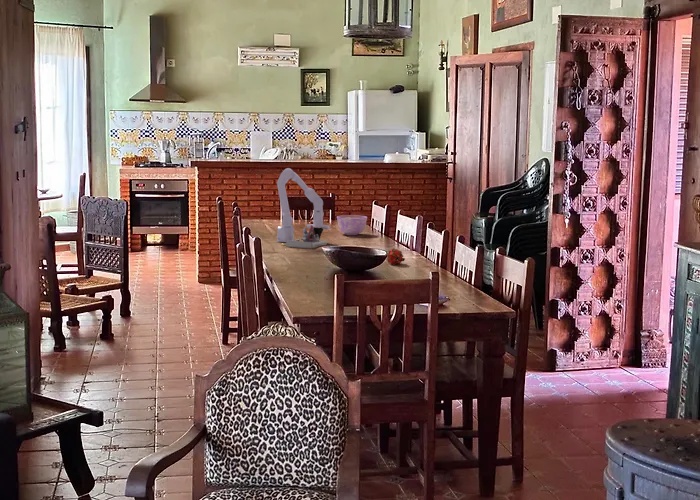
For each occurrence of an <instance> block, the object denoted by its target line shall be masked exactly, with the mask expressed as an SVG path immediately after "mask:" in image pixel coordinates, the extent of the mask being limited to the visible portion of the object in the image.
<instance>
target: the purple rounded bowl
mask: <svg viewBox="0 0 700 500" xmlns="http://www.w3.org/2000/svg"><path fill="white" fill-rule="evenodd" d="M336 220H337V224H338V227H339V228H338V229H339V231H340V232H341V233H343V234H345V235H346V236H357V235H359V234H362V233H363V232H364V230H365V228H366V225H367V221H368V216H367V215H366V216H365V215H356V214H355V215H354V214H347V215H338V216H336Z"/></svg>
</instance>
